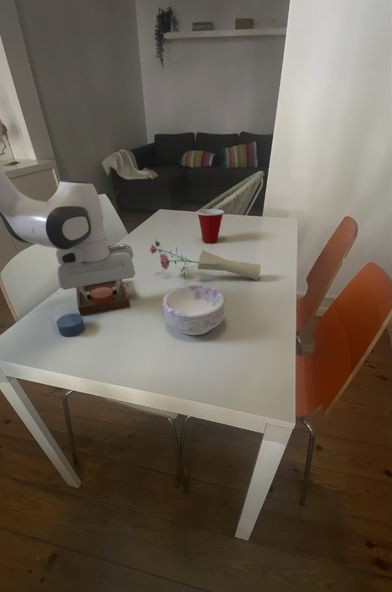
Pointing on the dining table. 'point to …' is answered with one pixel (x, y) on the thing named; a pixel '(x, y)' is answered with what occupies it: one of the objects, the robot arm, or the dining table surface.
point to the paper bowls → (193, 309)
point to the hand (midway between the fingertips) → (102, 296)
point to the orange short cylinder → (102, 295)
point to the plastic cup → (210, 224)
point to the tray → (89, 308)
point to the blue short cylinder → (70, 325)
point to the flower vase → (213, 263)
